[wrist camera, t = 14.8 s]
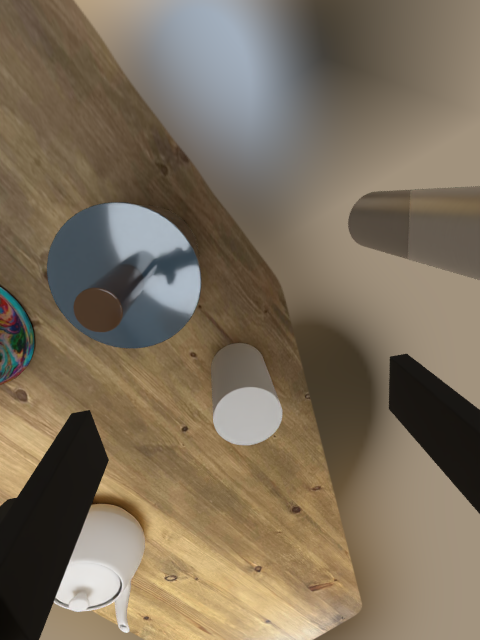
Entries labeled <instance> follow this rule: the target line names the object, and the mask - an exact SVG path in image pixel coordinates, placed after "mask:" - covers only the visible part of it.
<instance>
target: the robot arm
mask: <svg viewBox="0 0 480 640" xmlns="http://www.w3.org/2000/svg"><path fill="white" fill-rule="evenodd" d="M389 381H390V382H389V409H390V411H391V412H392V413H393V414H394V415H395V416H396V418H397V419H398V420H399V421H400V422H401V423H402V425H403V426H404V427H405V428H406V429H407V430H408V432H409V433H410V434H411V435H412V436H413V437H414V438H415V440H416V441H417V442H418V443H419V444H420V445H421V447H423V449H424V450H425V451H426V452H427V453H428V455H429V456H430V457H431V458H432V459H433V460H434V462H435V463H436V464H437V465H438V466H439V467H440V469H441V470H442V471H443V472H444V473H445V474H446V475H447V477H449V479H450V480H451V481H452V482H453V484H454V485H455V486H456V487H457V488H458V489H459V490H460V492H461V493H462V494H463V495H464V496H465V497H466V499H467V500H468V501H469V502H470V503H471V504H472V506H473V507H475V509H476V510H477V511H478V512H479V513H480V410H479V409H478V408H477V407H475V406H474V405H473V404H471V403H470V402H469V401H467V400H466V399H465V398H464V397H462V396H461V395H460V394H458V393H457V392H456V391H454V390H453V389H452V388H450V387H449V386H448V385H447V384H445V383H444V382H443V381H442V380H440V379H439V378H437V377H436V376H435V375H434V374H432V373H431V372H430V371H429V370H427V369H426V368H425V367H423V366H422V365H421V364H420V363H418V362H417V361H416V360H414V359H413V358H411V357H410V356H409V355H408V354H403V355H398V356H391V357H390V380H389ZM108 461H109V460H108V457H107V454H106V452H105V449H104V446H103V444H102V441H101V438H100V436H99V433H98V430H97V428H96V425H95V423H94V420H93V417H92V415H91V412H90V410H88V411H82V412H77V413H72V414H71V415H70V417H69V418H68V420H67V422H66V423H65V425H64V426H63V428H62V429H61V431H60V432H59V434H58V435H57V437H56V438H55V440H54V442H53V443H52V445H51V446H50V448H49V449H48V451H47V452H46V454H45V455H44V457H43V458H42V460H41V462H40V463H39V465H38V466H37V468H36V469H35V471H34V472H33V474H32V475H31V477H30V479H29V480H28V482H27V483H26V485H25V486H24V488H23V489H22V491H21V492H20V494H19V495H18V497H17V498H13V499H8V500H7V501H6V502H4V503H3V504H2V505H1V506H0V640H39V638H40V635H41V633H42V631H43V628H44V625H45V623H46V620H47V618H48V615H49V613H50V610H51V607H52V605H53V602H54V600H55V597H56V595H57V592H58V589H59V587H60V584H61V582H62V579H63V577H64V574H65V571H66V569H67V566H68V564H69V561H70V559H71V556H72V553H73V551H74V548H75V546H76V543H77V541H78V538H79V535H80V533H81V530H82V528H83V525H84V523H85V520H86V517H87V515H88V512H89V510H90V507H91V505H92V502H93V499H94V497H95V494H96V492H97V489H98V487H99V484H100V481H101V479H102V476H103V474H104V471H105V469H106V466H107V463H108Z"/></svg>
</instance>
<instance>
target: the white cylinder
mask: <svg viewBox="0 0 480 640" xmlns="http://www.w3.org/2000/svg"><path fill="white" fill-rule="evenodd" d="M211 378H212V401H213V422H214V426H215V429H216V431H217V432H218V434H219V435H220V436H221V437H222V438H224V439H225V440H227V441H228V442H231V443H234V444H238V445H252V444H256V443H259V442H262V441H264V440H266V439H267V438H269V437H270V436H271V435H272V434H274V432H275V431H276V430H277V429H278V427H279V425H280V423H281V420H282V408H281V405H280V402H279V399H278V397H277V394H276V391H275V388H274V386H273V383H272V380H271V378H270V375H269V372H268V370H267V367H266V364H265V362H264V359H263V357H262V355H261V353H260V352H259V351H258V350H257V349H256V348H255V347H253V346H251V345H248V344H245V343H234V344H230V345H227V346H225V347H223V348H222V349H221V350H219V351H218V352H217V354H216V355H215V356H214V358H213V361H212V364H211Z"/></svg>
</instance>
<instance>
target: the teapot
mask: <svg viewBox="0 0 480 640" xmlns="http://www.w3.org/2000/svg"><path fill="white" fill-rule="evenodd" d="M144 550H145V536H144V532H143V529H142V527H141V525H140V524H139V522H138V521H137V520H136V519H135V518H134V517H133V516H132V515H131V514H130V513H128V512H127V511H126V510H124V509H122V508H120V507H118V506H115V505H110V504H94V505H91V507H90V510H89V512H88V515H87V517H86V520H85V523H84V525H83V528H82V530H81V533H80V535H79V538H78V541H77V543H76V546H75V548H74V551H73V553H72V556H71V559H70V561H69V564H68V566H67V569H66V571H65V574H64V577H63V579H62V582H61V584H60V587H59V589H58V592H57V595H56V597H55V600H54V603H55V604H57V605H59V606H61V607H64V608H66V609H70V610H73V611H76V612H81V611H90V610H96V609H99V608H103V607H105V606H107V605H109V604H111V603H113V602H114V601H115V610H116V618H117V622H118V626H119V628H120V629H121V630H122V631H123V632H125V633H128V632H129V625H128V621H127V607H128V601H129V596H130V590H131V579H132V577H133V576H134V574H135V572H136V570H137V569H138V567H139V564H140V562H141V559H142V556H143V553H144Z"/></svg>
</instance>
